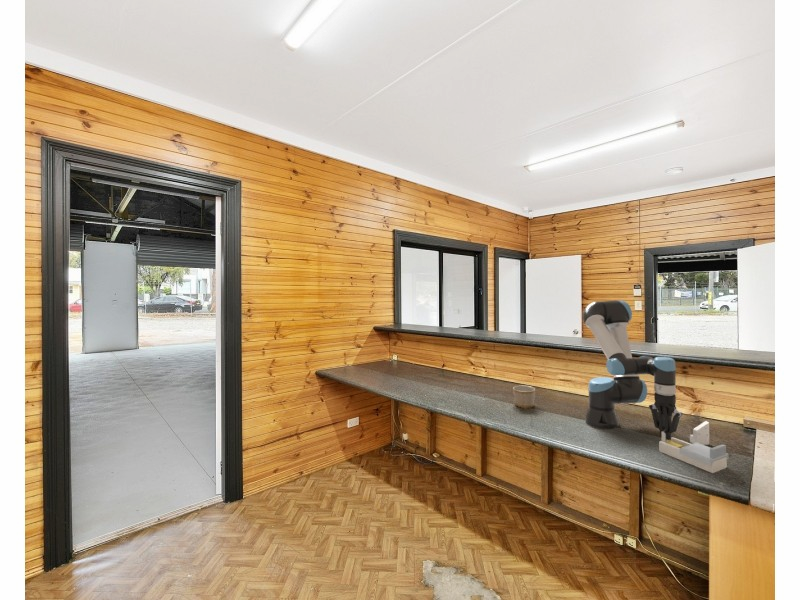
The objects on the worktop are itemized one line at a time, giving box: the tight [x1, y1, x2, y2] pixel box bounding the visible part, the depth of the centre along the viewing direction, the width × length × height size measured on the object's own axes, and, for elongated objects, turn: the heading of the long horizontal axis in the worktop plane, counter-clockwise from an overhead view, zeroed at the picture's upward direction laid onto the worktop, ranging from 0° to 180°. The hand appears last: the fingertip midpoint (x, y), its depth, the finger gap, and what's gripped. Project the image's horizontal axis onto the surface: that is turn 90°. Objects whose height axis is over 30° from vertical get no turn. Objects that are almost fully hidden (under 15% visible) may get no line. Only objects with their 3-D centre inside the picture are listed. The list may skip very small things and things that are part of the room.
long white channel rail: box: [658, 436, 728, 474], centre depth 152 cm, size 20×9×4 cm, turn 22°
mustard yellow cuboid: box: [666, 440, 682, 448], centre depth 158 cm, size 5×4×4 cm
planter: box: [512, 384, 536, 409], centre depth 222 cm, size 13×13×10 cm
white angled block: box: [689, 420, 710, 446], centre depth 165 cm, size 4×10×9 cm
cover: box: [680, 443, 729, 466], centre depth 147 cm, size 11×11×6 cm
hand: (665, 445), depth 161 cm, fingers closed
